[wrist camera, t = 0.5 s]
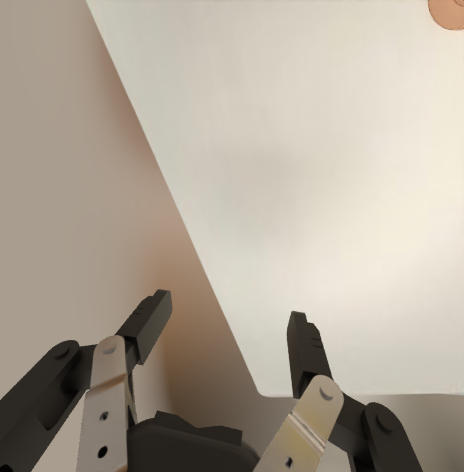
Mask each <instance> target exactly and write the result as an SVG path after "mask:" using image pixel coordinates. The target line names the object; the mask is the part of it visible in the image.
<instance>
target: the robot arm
mask: <svg viewBox="0 0 464 472" xmlns="http://www.w3.org/2000/svg"><path fill="white" fill-rule="evenodd" d="M171 313H172V301H171V292H170V291H166V290H161V289H158V290H157V291H156V293H155V294H154V295H153V296H148V297H147V298H145V299H144V300H143V301H141V303H140V304H139V305H138V306H137V308H136V309H135V310H134V311H133V313H132V314H131V315H130V316H129V318H128V319H127V320H126V321H125V323H124V324H123V325H122V326H121V328H120V329H119V330H118V332H117V333H116V334H115V335H114V336H110V337H107V338H105V339H104V340H102V341H101V342H100V343H99V344H96V345H89V346H81V347H80V346H79V344H78V342H77V341H75V340H68V341H64V342H61V343H59V344H57V345H56V346H54V347H53V348H52V349H51V350H49V351H48V352H47V353H46V355H44V356H43V357H42V359H41V360H40V361H39V362H38V363H37V364H35V366H34V367H33V368H32V369H31V370H30V371H29V372H28V373H27V374H26V375H25V376H24V377H23V378H22V379H21V380H20V381H19V382H18V383H17V384H16V385H15V386H14V387H13V388H12V389H11V390H10V391H9V392H8V393H7V394H6V395H5V396H4V397H3V398H2V399H1V400H0V472H31V471H32V469H33V468H34V466H35V465H36V463H37V462H38V461H39V459H40V457H41V456H42V455H43V453H44V452H45V450H46V449H47V447H48V446H49V444H50V443H51V441H52V440H53V438H54V437H55V435H56V434H57V433H58V431H59V430H60V428H61V427H62V425H63V424H64V422H65V421H66V419H67V418H68V416H69V415H70V413H71V412H72V410H73V409H74V407H75V406H76V405H77V403H78V401H79V400H80V399H81V397H82V396H83V394H84V393H85V391H86V390H87V389H90V391H88V392H87V393H86V395H85V400H84V408H83V417H82V425H81V434H80V442H79V451H78V460H77V468H76V472H315V471H316V469H317V466H318V464H319V462H320V459H321V457H322V455H323V452H324V449H325V445H326V443H327V440H328V441H330V442H331V443H332V444H334V445H336V446H337V447H339V448H340V449H342V450H344V451H345V452H347V455H348V459H349V463H350V468H351V472H423V471H422V468H421V466H420V464H419V462H418V459H417V457H416V455H415V453H414V450H413V448H412V446H411V444H410V441H409V439H408V437H407V434H406V432H405V430H404V428H403V426H402V424H401V422H400V421H399V419H398V418H397V417H396V416H395V414H393V412H391V411H390V410H389V409H388V408H387V407H385V406H383V405H381V404H379V403H375V402H371V403H369V404H367V406H366V405H364V404H362V403H360V402H358V401H356V400H354V399H353V398H351V397H349V396H347V395H346V394H345V393H343V392H342V391H341V389H340V387H339V386H338V385H337V384H336V383H335V382H334V380H333V378H332V375H331V371H330V368H329V364H328V361H327V357H326V354H325V350H324V347H323V343H322V341H321V336H320V333H319V330H318V329H317V328H316V326H315V325H314V323H308V322H307V319H306V315H305V313H302V312H296V311H292V312H291V316H290V320H289V323H288V327H287V344H288V353H289V362H290V371H291V380H292V389H293V398H296V399H300V400H299V402H298V403H297V405H296V407H295V408H294V410H293V411H292V412H291V413H290V414H289V415H288V417H287V418H286V419H285V421H284V423H283V424H282V426H281V428H280V429H279V431H278V432H277V434H276V435H275V437H274V438H273V440H272V442H271V443H270V445H269V446H268V448H267V450H266V451H265V453H264V454H263V456H262V458H261V457H260V456H259V454H258V453H257V451H256V450H255V449H254V448H253V447H252V446H251V445H250V444H249V443H248V442H247V441H245V440H244V439H242V431H241V430H237V429H232V428H229V427H224V426H213V427H204V428H196V427H194V426H193V425H191V424H190V423H188V422H187V421H185V420H184V419H182V418H180V417H179V416H177V415H174V414H169V413H165V412H161V411H157V413H156V415H155V417H154V418H150V419H147V420H144V421H142V422H140V423H138V421H137V414H136V407H135V395H134V382H133V371H132V370H133V369H134V367H135V365H136V364H139V365H143V364H144V362H145V361H146V359H147V357H148V355H149V354H150V352H151V350H152V348H153V346H154V345H155V343H156V341H157V339H158V337H159V335H160V334H161V332H162V330H163V329H164V327H165V325H166V323H167V321H168V319H169V318H170V316H171Z"/></svg>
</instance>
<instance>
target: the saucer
mask: <svg viewBox="0 0 464 472" xmlns="http://www.w3.org/2000/svg"><path fill="white" fill-rule="evenodd" d="M428 5H429V10H430V13H431V15H432V17H433V19H434V20H435V21H436V22H437V24H439V25H440V26H442V27H444V28H446V29H450V30H462V29H464V0H428Z"/></svg>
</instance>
